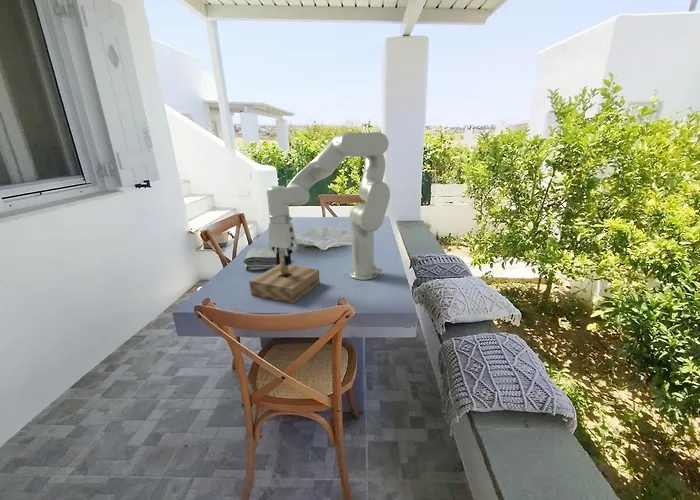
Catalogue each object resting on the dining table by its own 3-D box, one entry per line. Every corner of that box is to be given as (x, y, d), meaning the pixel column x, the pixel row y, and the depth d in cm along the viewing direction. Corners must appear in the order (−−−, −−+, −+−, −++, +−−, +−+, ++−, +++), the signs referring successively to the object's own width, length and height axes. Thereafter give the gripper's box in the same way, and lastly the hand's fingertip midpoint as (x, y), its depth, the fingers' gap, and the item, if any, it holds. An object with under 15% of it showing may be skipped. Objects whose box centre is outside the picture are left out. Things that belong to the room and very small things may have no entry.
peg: (290, 271, 132) (288, 245, 128) (285, 274, 129) (283, 248, 125) (283, 270, 133) (281, 244, 129) (279, 273, 130) (276, 247, 127)
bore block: (319, 282, 138) (318, 269, 136) (293, 303, 120) (291, 288, 119) (281, 276, 146) (280, 263, 144) (251, 294, 129) (249, 280, 127)
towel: (249, 261, 167) (247, 246, 165) (285, 258, 169) (283, 244, 167) (244, 272, 153) (242, 256, 150) (283, 268, 155) (282, 253, 153)
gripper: (303, 218, 124) (306, 263, 130) (268, 215, 130) (273, 258, 136) (292, 222, 117) (296, 269, 123) (256, 219, 124) (261, 264, 130)
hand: (284, 263), depth 130 cm, fingers closed on peg, 3 cm apart
